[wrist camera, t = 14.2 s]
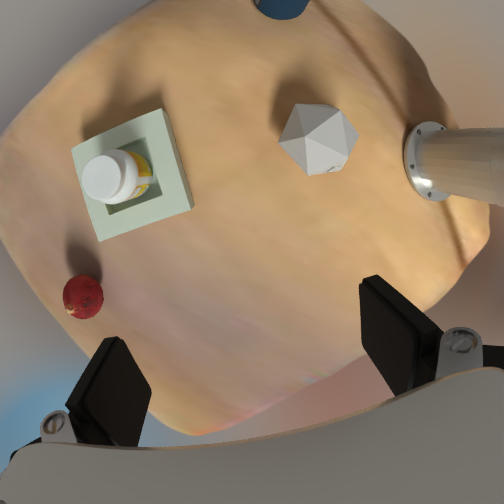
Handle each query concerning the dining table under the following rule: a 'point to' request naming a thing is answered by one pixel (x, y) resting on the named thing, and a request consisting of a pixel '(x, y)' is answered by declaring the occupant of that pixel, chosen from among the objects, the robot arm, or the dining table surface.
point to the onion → (82, 297)
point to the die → (318, 138)
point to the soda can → (281, 8)
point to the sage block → (164, 175)
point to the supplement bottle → (117, 176)
